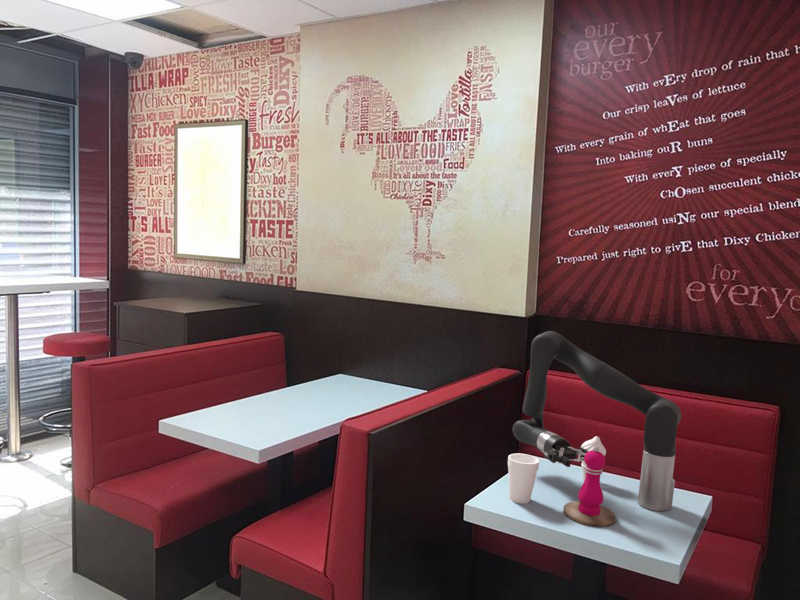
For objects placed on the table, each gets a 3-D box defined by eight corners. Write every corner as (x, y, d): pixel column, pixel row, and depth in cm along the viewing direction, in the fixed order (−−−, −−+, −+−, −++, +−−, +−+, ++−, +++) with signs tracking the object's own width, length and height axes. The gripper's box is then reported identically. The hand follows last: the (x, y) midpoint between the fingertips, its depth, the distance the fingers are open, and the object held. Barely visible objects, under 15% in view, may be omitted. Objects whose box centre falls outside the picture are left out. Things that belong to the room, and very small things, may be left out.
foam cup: (526, 508, 202) (530, 466, 200) (498, 499, 207) (502, 458, 206) (540, 499, 209) (544, 459, 208) (513, 490, 215) (517, 451, 213)
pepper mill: (605, 517, 196) (613, 450, 194) (582, 516, 196) (589, 449, 194) (595, 506, 204) (602, 442, 202) (572, 506, 203) (579, 441, 201)
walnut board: (604, 506, 208) (605, 502, 207) (623, 528, 193) (624, 524, 193) (556, 504, 207) (557, 500, 206) (572, 525, 192) (572, 521, 192)
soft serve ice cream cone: (572, 480, 228) (577, 434, 227) (585, 475, 234) (590, 430, 232) (594, 488, 222) (599, 441, 221) (607, 483, 228) (612, 437, 226)
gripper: (535, 435, 217) (562, 452, 201) (573, 434, 221) (602, 450, 206) (532, 457, 217) (560, 476, 202) (570, 456, 222) (600, 474, 207)
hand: (581, 463), depth 204 cm, fingers open, 8 cm apart
